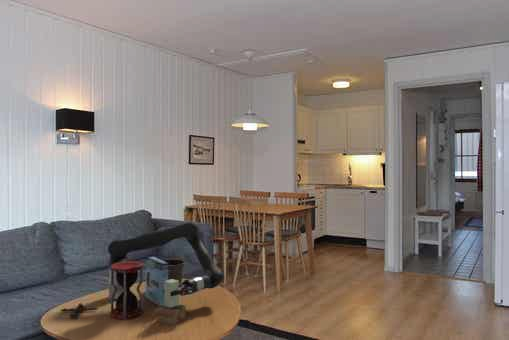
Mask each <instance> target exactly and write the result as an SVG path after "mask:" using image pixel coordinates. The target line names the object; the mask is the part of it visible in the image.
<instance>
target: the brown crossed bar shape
mask: <svg viewBox="0 0 509 340" xmlns="http://www.w3.org/2000/svg"><path fill="white" fill-rule="evenodd" d="M97 310H99V309H98V307H96V306H94V307H91V308H90V307H88V308H87V306H84V304H82V303H81V302H80V303H79V304H77V307H76V308H64V307H63V309H60V311H61V312H72V313H70V314H69V317H70V319H71V320H73V319H76V320H77V319H78V318H79V315H80V314H81V313H82V311H97Z"/></svg>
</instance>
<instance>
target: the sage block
mask: <svg viewBox="0 0 509 340" xmlns="http://www.w3.org/2000/svg"><path fill="white" fill-rule="evenodd" d="M178 289H179V281H178V280H174V279H171V280H167V281H164V306H167V307H170V308H172V307H175V306H178V305H180V301H179V300H180V295H175V296H170V292H172V291H175V290H178Z"/></svg>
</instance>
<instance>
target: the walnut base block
mask: <svg viewBox="0 0 509 340" xmlns="http://www.w3.org/2000/svg"><path fill="white" fill-rule="evenodd" d="M186 307H187V306H186V305H183V304H179V305H178V306H175V307H172V308H170V307H167V306H161V307H160V306H159V307H158V308H157V309H156V322H160V323H164V324H170V325H176V324H177V323H179V322H180V320H181V321H182V320H184V319H185V318H186V312H187V311H186V309H187V308H186Z"/></svg>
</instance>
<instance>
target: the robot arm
mask: <svg viewBox="0 0 509 340" xmlns="http://www.w3.org/2000/svg"><path fill="white" fill-rule="evenodd" d="M181 238H184V239H185V240H186V241H187V242H188V244H189V246H191V248H192V249H193V251H194V253H195V256H196V257H197V260H198V262H199V264H200V266H201V269H202V270H203V271H204V272H206V273H208V272H211V273H210V275H206V274H205V275H200V276H194V277H191V278H188V279H185V280H182V284H179V289H178V290H175V291H172V292H170V296H175V295H179V296H182V297H183V296H187V295H192V294H195V293H197V292H200V291H203V290H206V289H215V288H217V287H218V286H219V285H220V284H221V283H222V282H223V281H224V279H225V275H224V272H223V270H222V269H220V268H219V266H218V265H217V264H216V263H215V262H214V259H213V257H212V256H211V255H210V252H209V251H208V249H207V248H206V246H205V245H204V243H203V241H202V239H201V235H200V229H199V227H198V225H197V224H196V223H195V222H190V221H189V222H186V223H182V224H179V225H176V226H173V227H167V228H164V229H163V228H162V229H160V230H159V229H158V230H155V231H150V232H149V231H148V232H147V233H144V234H141V235H138V236H136V237H133V238H128V239H123V238H115V239H113V240H112V241H111V242H110V243H109V245H108V246H107V252H108V253H109V255H110V257H109V263H108V264H109V265H108V300H110V301H111V296H112V294H113V293H114V287H113V286H112V284H111V270H110V266H111V265H112V264H115V263H119V262H128V261H127V260H128V254H129V253H133V252H137V251H143V250H144V251H145V250H149V249H156V248H159V247H162V246H164V245H167V244H168V243H170V242H172V241H174V240H178V239H181ZM113 282H114V285H115V286H116V287H117V292H116V294H115V295H114V297H113V301H114V300H115V301H116V300H117V298H118V297H119V295H120V294H121V293H122V292H123V291H124V288H123V287H122V286H121V285H120V284H119V283H118V282H117V280H116V272H115V271H114V278H113ZM163 294H164V290H163Z"/></svg>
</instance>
